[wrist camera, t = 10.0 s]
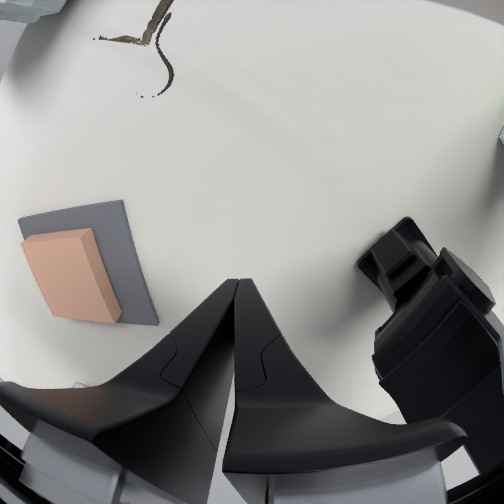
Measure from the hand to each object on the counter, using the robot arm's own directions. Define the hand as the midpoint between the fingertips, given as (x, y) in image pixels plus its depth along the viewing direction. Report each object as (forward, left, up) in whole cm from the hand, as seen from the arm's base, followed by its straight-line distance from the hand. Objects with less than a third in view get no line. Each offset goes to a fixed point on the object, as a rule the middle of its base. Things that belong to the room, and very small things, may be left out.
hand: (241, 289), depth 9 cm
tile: (+6, +16, -11) cm, 20 cm away
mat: (+9, +19, -13) cm, 25 cm away
